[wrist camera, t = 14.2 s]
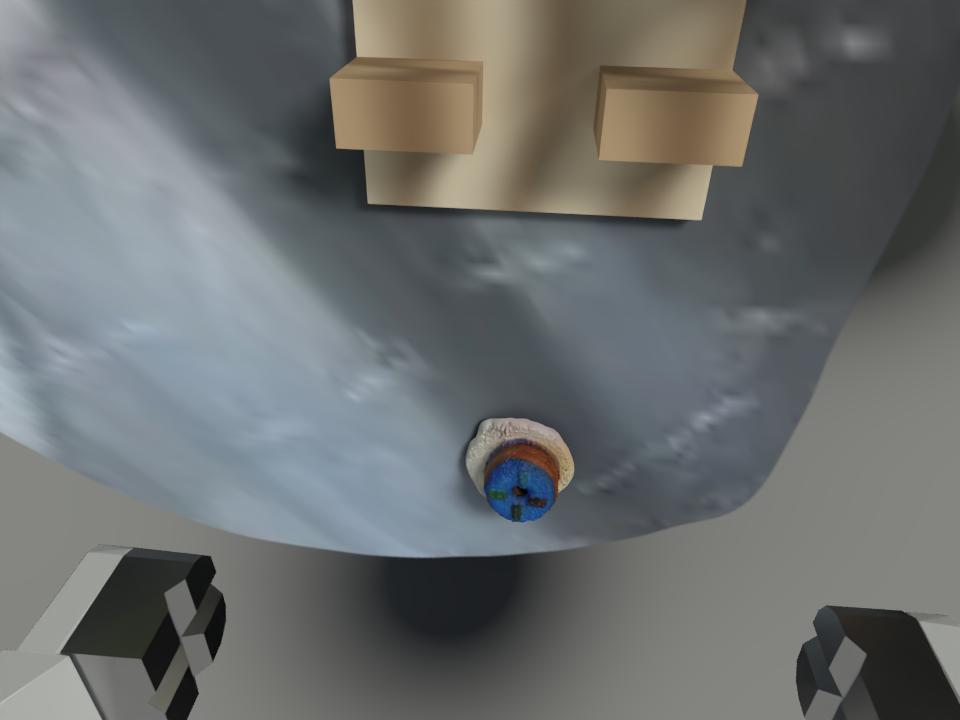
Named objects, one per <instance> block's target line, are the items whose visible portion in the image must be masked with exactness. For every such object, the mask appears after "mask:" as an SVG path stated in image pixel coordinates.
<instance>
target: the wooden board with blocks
mask: <svg viewBox="0 0 960 720" xmlns="http://www.w3.org/2000/svg"><path fill="white" fill-rule="evenodd" d="M746 1H747V0H353V12H354V26H355V39H356V52H357V57H356V58H355V59H353V60H352V61H351V62H349V63H348V64H347V65H346V66H344V67H343V68H342V69H341V70H339V71H338V72H337V73H336V74H334V75H333V76H332V77H331V78H329V79H330V89H331V99H332V110H333V120H334V130H335V141H336V149H359V150H364V159H365V173H366V186H367V200H368V204H383V205H403V206H424V207H444V208H464V209H484V210H505V211H525V212H545V213H566V214H586V215H606V216H626V217H647V218H667V219H687V220H702V215H703V210H704V205H705V200H706V195H707V191H708V186H709V181H710V176H711V171H712V166H713V165H719V166H742V164H743V159H744V155H745V151H746V146H747V142H748V138H749V133H750V129H751V125H752V120H753V116H754V112H755V107H756V103H757V98H758V94H757V93H756V92H755V91H754V90H753V89H752V88H751V87H750V86H749V85H748V84H746V83H745V82H744V81H743V80H742V79H741V78H740V77H739V76H738V75H737V74H736V73H735V72H734V71H733V70H732V69H733V64H734V59H735V54H736V49H737V45H738V40H739V35H740V30H741V25H742V20H743V15H744V11H745V6H746Z"/></svg>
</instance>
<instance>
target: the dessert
mask: <svg viewBox="0 0 960 720" xmlns="http://www.w3.org/2000/svg"><path fill="white" fill-rule="evenodd" d="M466 467H467V470H468V473H469V475H470V477H471V478H472V480H473V482H474V483H475V485H476V487H477V489H478V490H479V492H480V493H481V494H482V495H483V496H485V497H486V498H487V501H488V502H489V504H490V506H491V507H492V508H493V509H494V510H495V511H496V512H497V513H498V514H499V515H500V516H502V517H504V518H506V519H508V520H511V521H512V522H516V521H517V522H526V521H527V520H532V521H534V520H536V519H538V518H540V517H542V516H543V514H545V513H546V512H547V510H548V511H549V510H550V509H551V507H552V506H553V504H555V502H556V500H557V498H556V497H557V496H559V495H558V493H559V492H560V491H561V490H562V489H564V488H565V487H566V486H567V485H568V484H569V482H570V481H571V479H572V477H573V474H574V462H573V459H572V456H571V454H570V451H569V448H568V447H567V446H566V444H565V443H564V442H563V440H562V438H561V436H560V435H559V433H558V432H556V431H555V430H554V429H552V428H549V427H545V426H544V425H542V424H540V423H537V422H534V421H530V420H528V419H522V418H521V419H519V418H518V419H515V418H503V419H502V418H500V419H497V418H495V419H488V420H484V421H483V422H481V424H480V426H479V430H478V433H477V436H476V437H475V438H474V439H472V441H470V443H469V446H468V449H467V454H466Z"/></svg>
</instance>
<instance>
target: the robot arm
mask: <svg viewBox="0 0 960 720" xmlns="http://www.w3.org/2000/svg"><path fill="white" fill-rule="evenodd" d="M215 574H216V570H215V567H214V564H213V561H212V559H211V556H206V555H197V554H188V553H179V552H170V551H161V550H152V549H143V548H133V547H123V546H111V545H101V544H99V545H98V546H96V547H95V548H93V549H92V550H91V551H89V552H88V553H87V554H86V555H85V556H84V558H83V559H82V561H81V562H80V563H79V565H78V566H77V568H76V569H75V570H74V571H73V573H72V574H71V576H70V577H69V578H68V580H67V581H66V583H65V584H64V585H63V587H62V588H61V590H60V591H59V592H58V594H57V595H56V596H55V598H54V599H53V601H52V602H51V603H50V605H49V606H48V607H47V609H46V610H45V612H44V613H43V614H42V616H41V617H40V619H39V620H38V621H37V623H36V624H35V626H34V627H33V628H32V630H31V631H30V633H29V634H28V635H27V637H26V638H25V639H24V641H23V642H22V644H21V645H20V646H19V648H18V649H17V650H8V649H6V650H4V651H2V652H1V653H0V720H187V719H188V716H189V714H190V712H191V710H192V708H193V705H194V703H195V701H196V699H197V696H198V694H199V692H198V688H197V684H196V680H195V676H196V675H197V674H199V673H200V672H201V671H203V670H204V669H205V668H206V667H208V666H209V665H210V664H211V663H213V661H214V658H215V656H216V654H217V651H218V649H219V647H220V644H221V641H222V637H223V632H224V628H225V623H226V604H225V601H224V597H223V593H221V592H220V591H219V590H218V589H217V588H216V587H214V586H213V585H212V584H211V582H212V580H213V578H214V576H215ZM813 625H814V627H815V631H816V633H817V636H816V637H814V638H812V639H811V640H809V641H807V642H805V643H804V644H803V645H802V648H801V651H800V653H799V656H798V659H797V668H796V684H797V691H798V697H799V701H800V705H801V708H802V711H803V715H804V718H805V719H806V720H960V625H959V623H958V622H957V621H956V620H954V619H953V618H952V617H951V616H948V615H939V614H925V613H911V612H903V611H900V610H885V609H871V608H856V607H841V606H827V605H826V606H824V607H823V608H821V609H820V610H818V613H817V615H816V617H815V619H814V621H813Z"/></svg>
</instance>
